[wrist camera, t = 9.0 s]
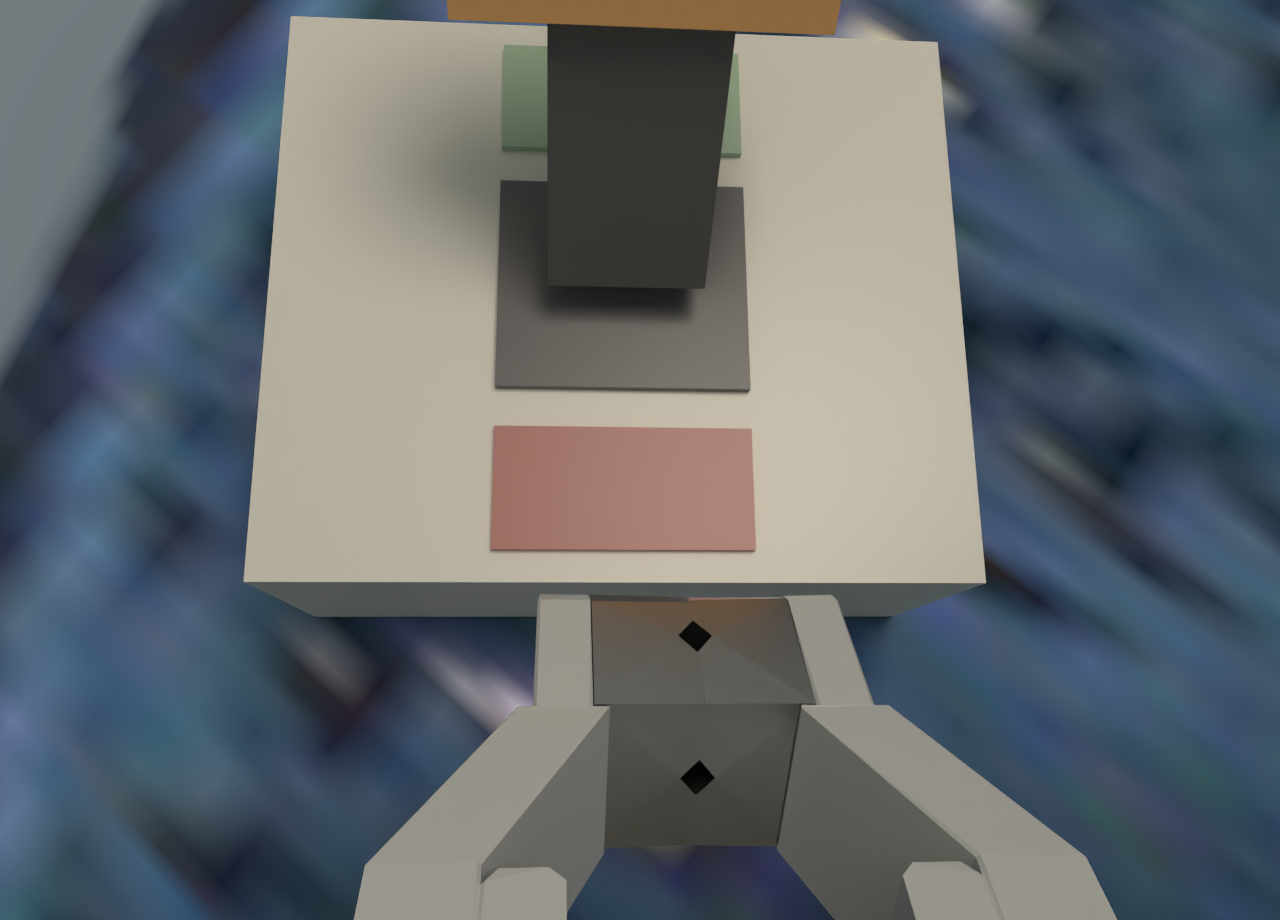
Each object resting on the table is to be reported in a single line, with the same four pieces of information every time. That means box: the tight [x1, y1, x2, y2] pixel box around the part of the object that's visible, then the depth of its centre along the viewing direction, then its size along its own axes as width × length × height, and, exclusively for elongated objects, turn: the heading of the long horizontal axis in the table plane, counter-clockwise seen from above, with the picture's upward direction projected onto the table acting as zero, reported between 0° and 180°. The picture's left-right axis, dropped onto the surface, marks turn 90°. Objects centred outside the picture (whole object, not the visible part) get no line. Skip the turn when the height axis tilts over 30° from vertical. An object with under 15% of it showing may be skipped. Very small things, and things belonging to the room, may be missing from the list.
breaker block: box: [244, 16, 986, 617], centre depth 24 cm, size 12×14×6 cm
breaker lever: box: [447, 0, 841, 289], centre depth 18 cm, size 2×6×9 cm
